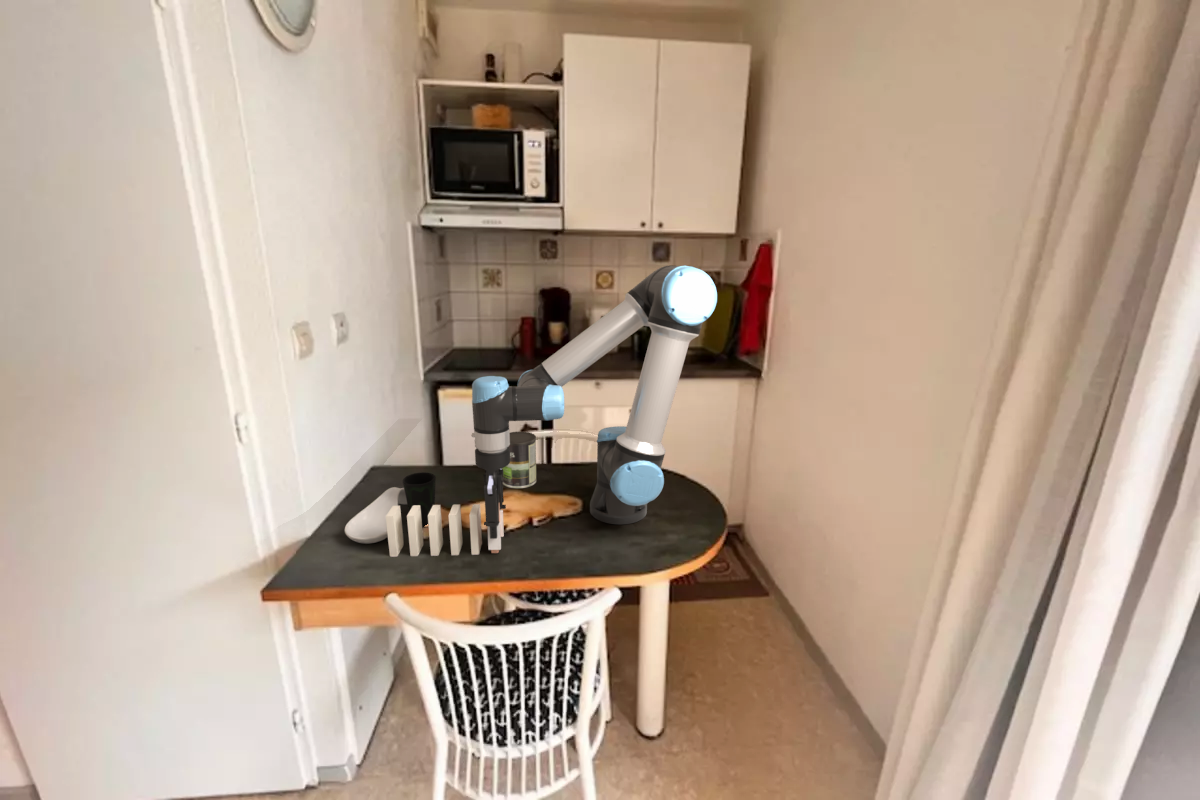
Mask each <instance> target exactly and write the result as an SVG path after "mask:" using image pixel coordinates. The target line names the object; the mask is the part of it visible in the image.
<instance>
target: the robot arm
mask: <svg viewBox="0 0 1200 800" xmlns="http://www.w3.org/2000/svg"><path fill="white" fill-rule="evenodd" d="M717 303H718V292H717V287H716V285H715V283H714V281H713V279H712V278H711V276H710V275H709V274H708V273H706V272H705V271H704V270H702V269H700V268H697V267H694V266H688V265H672V264H671V265H665V266H661V267H659V268H657V269H655V270H654V271H652V272H651V273H649V275H648V276H646V277H645V278H644V279H642V280H641V281H640V282H639V283H638V284H636V285H635V286H634V287H633V288H632V289H630V290H629V291H628V292H627V293H625V297H624V300H623V301H622V302H620V303H619V304H618V305H616V306H615V307H614V308H612V309H611V310H610V311H608V312H607V313H606V314H604V315H603V316H602V317H601V318H599V319H598V320H597V321H595V322H593V324H591V325H590V326H589V327H587V328H586V329H585V330H583V331H582V332H580V333H579V334H578V335H577V336H576V337H574V338H573V339H572V340H570V341H569V342H568V343H566V344H565V345H564V346H562V347H561V348H560V349H558V350H557V351H556V352H555V353H552V355H550V356H549V357H548V358H547V359H545V360H544V361H543V362H541V363H540V364H539V365H537V366H536V367H534V368H533V369H529V370H526V371H524V372H522V374H521V375H520V377H519V378H518V381H517V384H516V385H517V386H512V385H511V386H510V384H509V383H508V380H507V378H506V377H504V376H500V375H499V376H496V375H487V376H481V377H478V378H476V379H475V380H473V382H472V384H471V395H472V396H471V397H472V398H471V404H472V406H471V407H472V419H473V421H472V422H473V432H471V434H470V435H471V437H472V438H474V448H475V449H474V460H475V461H474V462H475V466H477V468H480V469H483V470H484V474H483V483H484V485H483V491H484V492H483V493H484V509H485V510H484V512H485V513H484V514H485V521H484V522H483V525H484V526H485V527H486V528H487V546H488V551H491V550H499V551H500V550H501V549H502V538H503V537H504V535H505V534H504V533H505V531H504V510H506V509H507V504H503V503H504V485H503V469H502V468H504V467H506V466H507V465H508V464H509V463H510V448H509V447H508V446H509V445H510V432H511V431H510V430H511V429H510V423H509V422H524V421H525V422H526V421H527V422H528V421H548V422H549V421H553V420H560V419H562V418H563V417H564V415H565V393H564V388H563V387H564V386H565V385H567V384H568V383H569V382H570V381H572V380H573V379H574V378H576V377H577V376H578V375H580V374H581V373H582V372H584V371H585V370H587V369H589V367H591V366H592V365H593V364H594V363H596V362H597V361H598V360H600V359H601V358H603V357H604V356H605V355H606V354H608V353H609V352H611V350H613V349H615V347H617V346H619V344H621V343H622V342H624V341H625V340H626V339H628V338H629V337H630V336H631V335H633V334H635V333H636V332H637V331H639V330H640V329H641V328H642V327H644V326H645V327H649V328H650V330H651V333H650V337H649V341H648V345H647V350H646V353H645V357H644V361H643V364H642V368H641V371H640V375H639V379H638V382H637V386H636V391H635V394H634V398H633V402H632V405H631V409H630V412H629V413H630V414H629V416H628V420H627V424H626V426H625V425H624V426H623V425H622V426H621V425H620V426H618V425H617V426H610V427H609V426H608V427H604V428H602V429H600V430H599V431H598V432H597V440H596V443H597V445H596V446H597V450H596V451H597V453H596V455H597V457H596V484H595V488H594V490H593V493H592V495H591V498H590V501H589V512H590V515H591V516H592V517H593V518H595V520H598V521H599V522H602V523H606V524H611V525H630V524H633V523H637V522H639V521H641V520H643V519H644V518H645V517H646V515H647V512H648V511H647V510H648V503H651V502H652V501H655V499H656V498H657V497H658V496H659V495H660V494H661V492H662V491H663V488H664V484H665V478H664V477H665V476H664V473H663V471H662V466H663V461H664V458H665V456H666V449H665V447H664V445H663V444H662V441H663V437H664V434H665V430H666V427H667V422H668V420H669V416H670V413H671V410H672V405H673V402H674V397H675V395H676V392H677V388H678V385H679V380H680V377H681V374H682V370H683V367H684V363H685V360H686V356H687V352H688V348H689V347H690V346H689V345H690V343H691V341H692V340H694V339H695V338H697V337H699V336H700V333H701V329H702V327H703V326H702V325H703V323H704V322H705V321H707V320H708V319H709V318H710V317H711V316H712V314H713V312H714V311H715V309H716V306H717ZM499 503H500V522H499ZM500 530H501V533H500Z"/></svg>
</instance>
